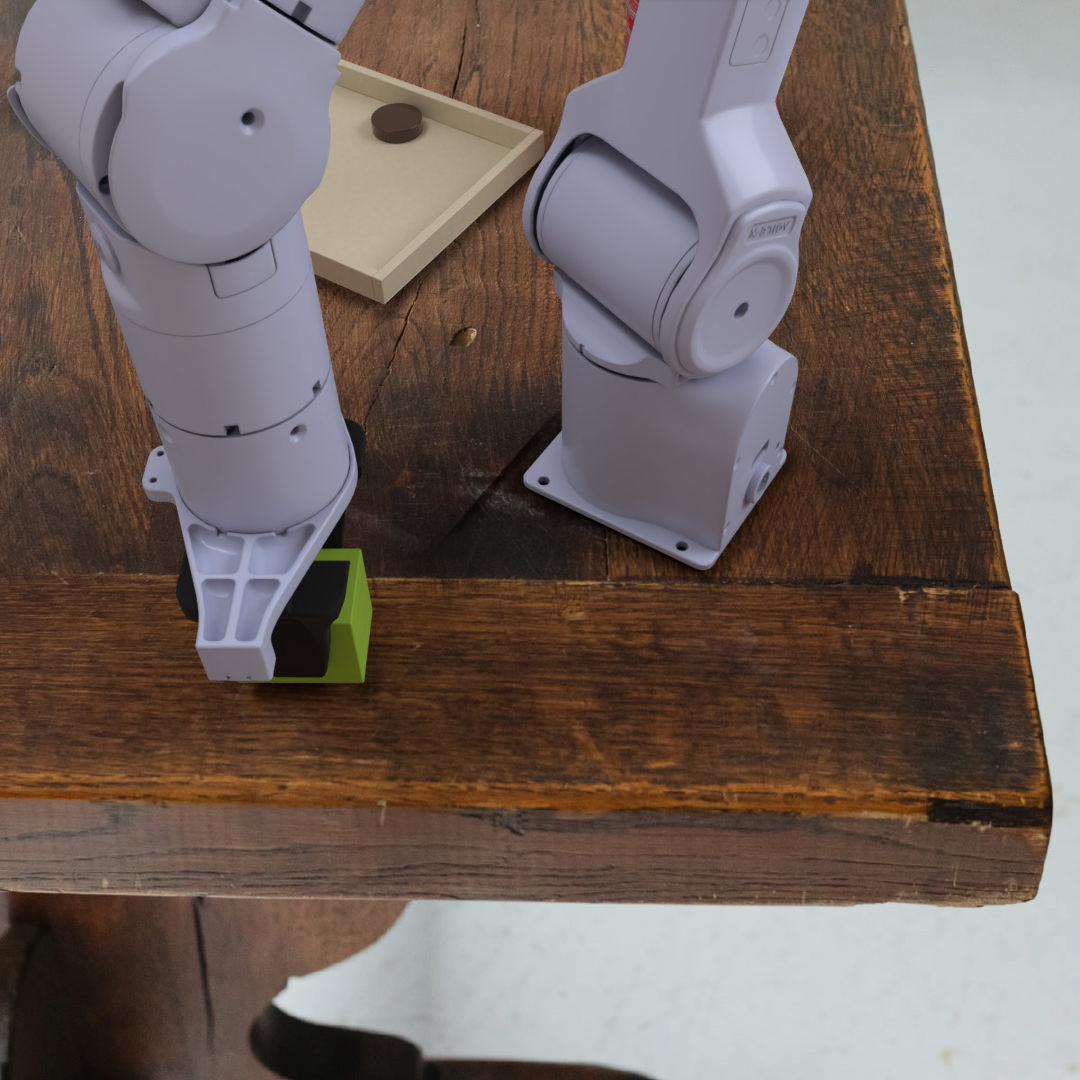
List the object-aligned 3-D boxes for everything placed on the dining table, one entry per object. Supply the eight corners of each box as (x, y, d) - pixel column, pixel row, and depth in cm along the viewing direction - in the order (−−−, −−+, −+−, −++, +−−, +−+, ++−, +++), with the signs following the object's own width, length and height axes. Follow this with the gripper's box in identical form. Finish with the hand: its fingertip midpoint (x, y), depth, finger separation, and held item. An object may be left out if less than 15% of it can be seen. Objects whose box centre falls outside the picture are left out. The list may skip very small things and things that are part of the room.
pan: (545, 161, 72) (544, 131, 70) (385, 311, 64) (381, 280, 63) (312, 76, 78) (306, 46, 76) (139, 203, 70) (130, 172, 69)
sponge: (372, 609, 51) (361, 547, 48) (364, 684, 49) (351, 623, 46) (251, 609, 51) (231, 547, 48) (236, 683, 49) (215, 623, 46)
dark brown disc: (433, 123, 74) (432, 111, 73) (405, 149, 72) (403, 137, 72) (390, 109, 75) (389, 97, 74) (362, 135, 73) (360, 123, 72)
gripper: (156, 224, 43) (235, 485, 54) (47, 555, 34) (168, 791, 45) (360, 223, 43) (399, 485, 54) (306, 556, 34) (366, 792, 45)
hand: (307, 624), depth 49 cm, fingers closed on sponge, 3 cm apart
